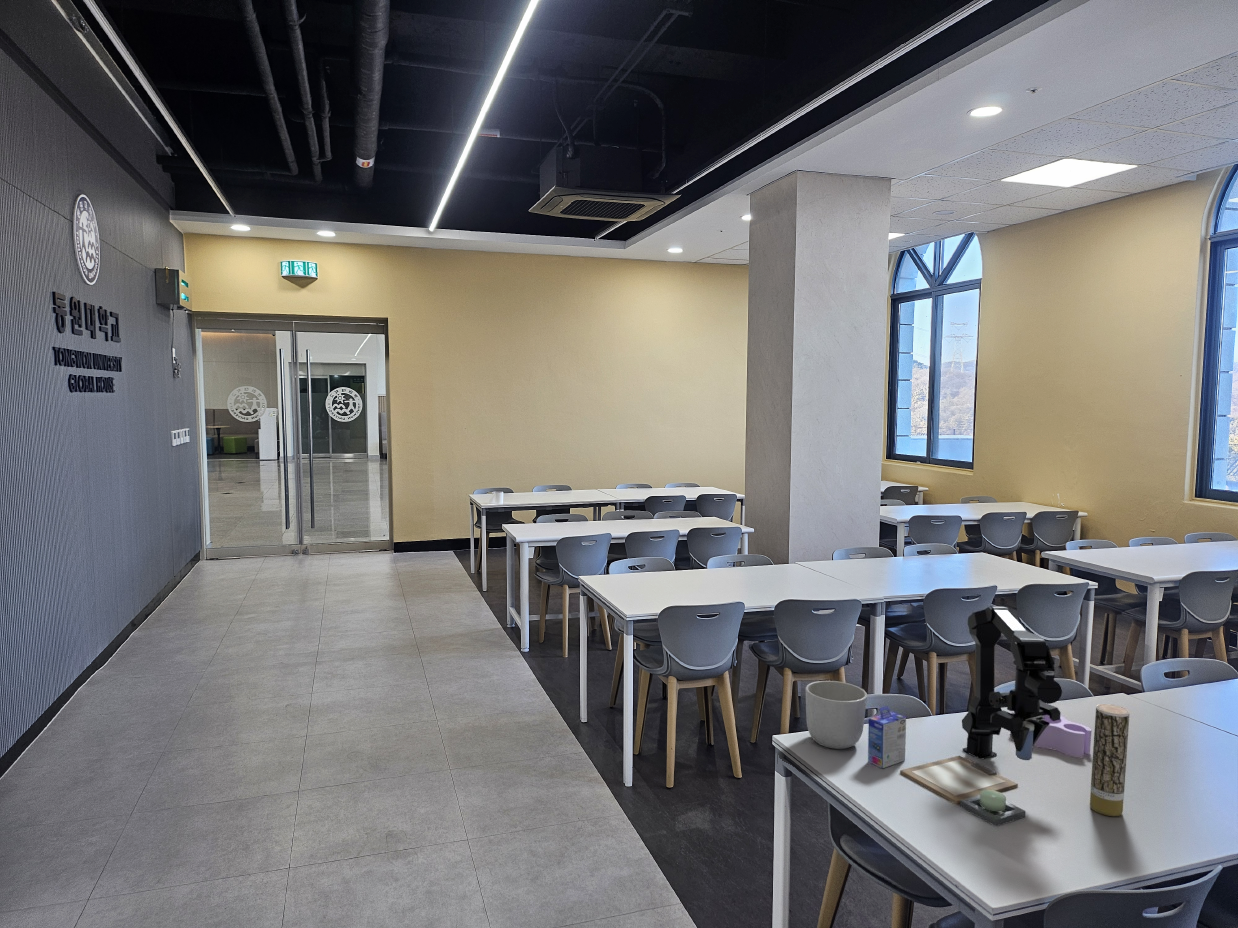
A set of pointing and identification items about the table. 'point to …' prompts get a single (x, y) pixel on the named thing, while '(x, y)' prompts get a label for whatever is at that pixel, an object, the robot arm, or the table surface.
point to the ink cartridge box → (886, 738)
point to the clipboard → (957, 778)
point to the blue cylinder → (1027, 744)
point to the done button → (992, 800)
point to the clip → (1065, 737)
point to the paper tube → (1109, 759)
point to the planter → (835, 713)
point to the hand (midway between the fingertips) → (1023, 749)
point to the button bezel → (996, 820)
